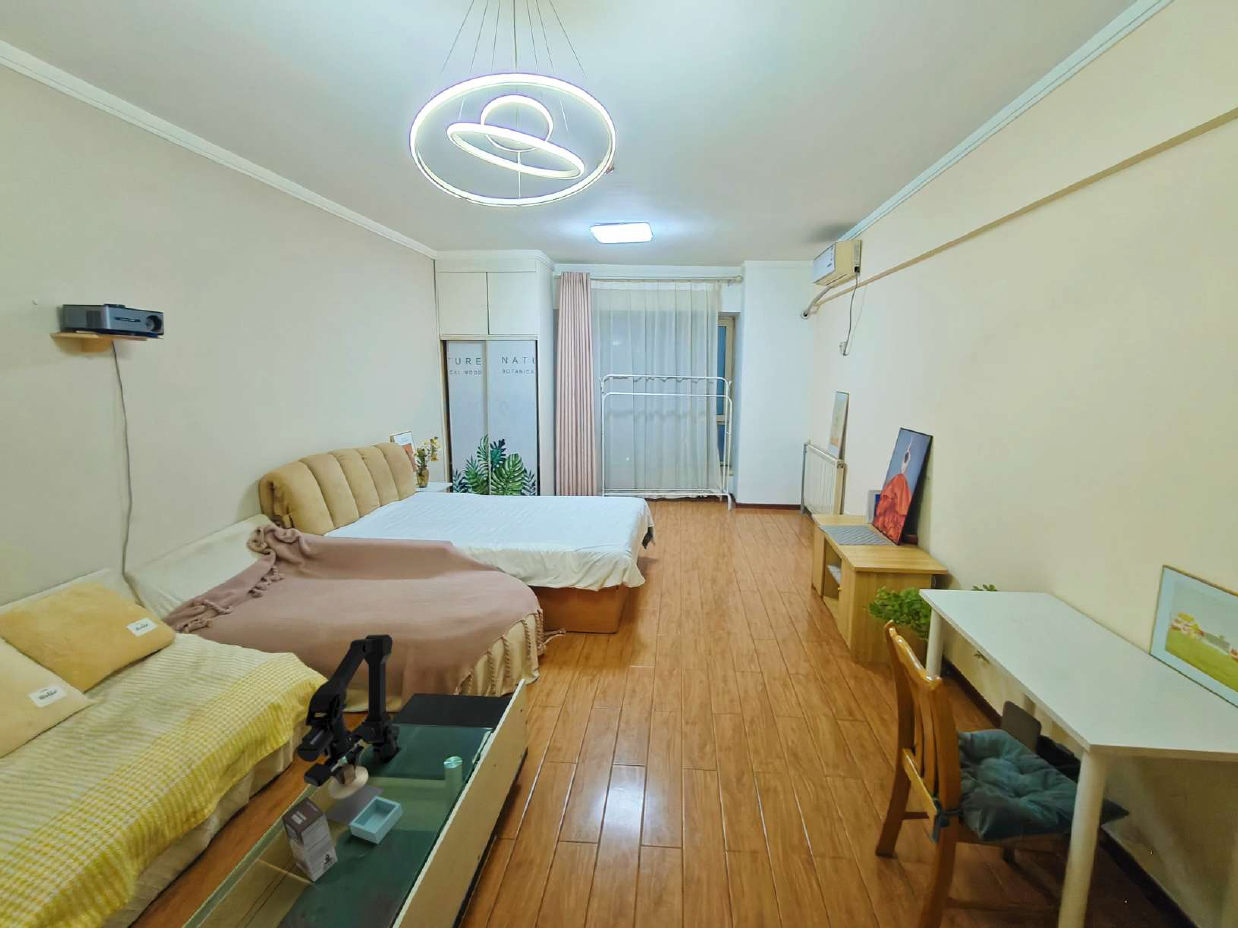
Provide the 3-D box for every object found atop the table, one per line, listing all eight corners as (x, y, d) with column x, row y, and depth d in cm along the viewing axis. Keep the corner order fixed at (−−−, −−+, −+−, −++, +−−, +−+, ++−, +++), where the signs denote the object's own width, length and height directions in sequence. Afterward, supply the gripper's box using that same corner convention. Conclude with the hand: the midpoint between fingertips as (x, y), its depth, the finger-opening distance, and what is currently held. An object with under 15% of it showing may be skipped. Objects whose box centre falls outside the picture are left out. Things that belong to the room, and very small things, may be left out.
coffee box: (295, 866, 130) (279, 815, 126) (320, 844, 135) (306, 795, 131) (314, 884, 125) (298, 832, 121) (339, 861, 130) (325, 810, 126)
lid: (350, 765, 151) (346, 750, 149) (376, 773, 147) (372, 757, 146) (320, 793, 142) (315, 777, 140) (346, 803, 138) (342, 786, 137)
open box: (378, 806, 145) (376, 795, 144) (403, 815, 142) (400, 803, 141) (352, 835, 137) (349, 824, 136) (378, 845, 134) (374, 833, 133)
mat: (359, 783, 154) (358, 781, 153) (384, 791, 150) (384, 789, 150) (324, 818, 143) (323, 816, 143) (350, 828, 139) (349, 826, 139)
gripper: (342, 703, 152) (353, 747, 155) (282, 751, 135) (296, 799, 139) (370, 710, 147) (381, 755, 151) (312, 760, 131) (326, 810, 134)
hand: (347, 778), depth 144 cm, fingers closed on lid, 3 cm apart
